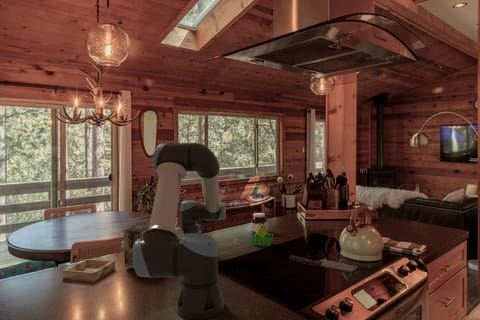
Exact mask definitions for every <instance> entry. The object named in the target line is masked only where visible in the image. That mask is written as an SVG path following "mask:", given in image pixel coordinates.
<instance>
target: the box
mask: <svg viewBox="0 0 480 320" xmlns="http://www.w3.org/2000/svg"><path fill="white" fill-rule="evenodd" d="M115 270H116V260H106V259H105V260H104V259H95V258H94V259H93V258H86V259H83V260H82V261H79V262H77V263H75V264H73V265H71V266H68V267H67V268H65V269H62V280H66V281H76V282H77V281H79V282H87V283H95V282H96V281H98V280H100V279H101V278H103V277H105V276H107V275H108V274H110V273H111V272H113V271H115Z"/></svg>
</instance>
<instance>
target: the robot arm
mask: <svg viewBox="0 0 480 320" xmlns="http://www.w3.org/2000/svg"><path fill="white" fill-rule="evenodd" d="M152 161H153V162H152V164H153V169H154V171H155V172H156V174H157V175H158V181H157V186H156V189H155V195H154V201H153V206H152V212H151V216H150V220H149V225H148V228H149V229H147V230H146V231H144V232H143V236H142V239H138V240H136V241H135V243H134V245H133V265H134V268H133V269H134V271H135V273H136V275H137V276H138V277H141V278H150V279H152V278H181V287H180V290H179V294H178V296H177V300H176V312H177V314H178V316H180V317H182V318H184V319H188V320H206V319H211V318H213V317H216V316H218V315H219V314H221V313H222V312H223V311H224V308H225V300H224V296H223V293H222V291H221V287H220V285H219V263H218V259H219V258H218V257H219V250H218V241H217V240H216V239H215V237H212V236H210V235H208V234H205V233H204V234H203V233H202V228H201V226H200V224H198V223H197V221H223V220H226V214H227V213H226V212H227V208H226V205H225V204H222V203H221V193H220V184H219V183H220V181H219V173H220V163H219V160H218V157H217V155H216V154H215V153H214V152H213V151H212V150H211V149H210V148H209V147H208V146H206V145H204V144H202V143H198V142H167V143H165V142H163V143H159V145H157V147H155V150H154V152H153V160H152ZM188 172H191V173H194V172H195V173H197V175H198V177H200V183H201V190H202V194H203V195H202V196H203V201H204V204H197V201H195V200H191V199H190V200H183V201H181V203H180V210H179V211H180V226H178V227H176V220H177V214H178V207H179V201H180V200H179V199H180V195H181V189H182V188H181V186H182V180H184V179H185V178H186V176H187V173H188ZM120 247H121V249H124V240H122V241H121V246H120Z"/></svg>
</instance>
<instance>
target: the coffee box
mask: <svg viewBox="0 0 480 320" xmlns="http://www.w3.org/2000/svg"><path fill="white" fill-rule="evenodd" d="M147 229H149V227H138V226H132V227H129V228H127V229H123V241H124V248H123V249H124V267H125V268H129V269H130V268H131V269H134V265H133V245H134V243H135V241H136V240H138V239H142V236H143V232H144V231H146V230H147Z"/></svg>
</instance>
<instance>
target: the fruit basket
mask: <svg viewBox="0 0 480 320" xmlns="http://www.w3.org/2000/svg"><path fill="white" fill-rule="evenodd" d="M250 237H251V241H252V246H253V247H256V246H257V247H271V246H272V243H273V238H274V234H273V233H268V229H266V228H265V226H264V225H261V226H259V228H258V230H257V233H253V232H252V234H251V235H250Z"/></svg>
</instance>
